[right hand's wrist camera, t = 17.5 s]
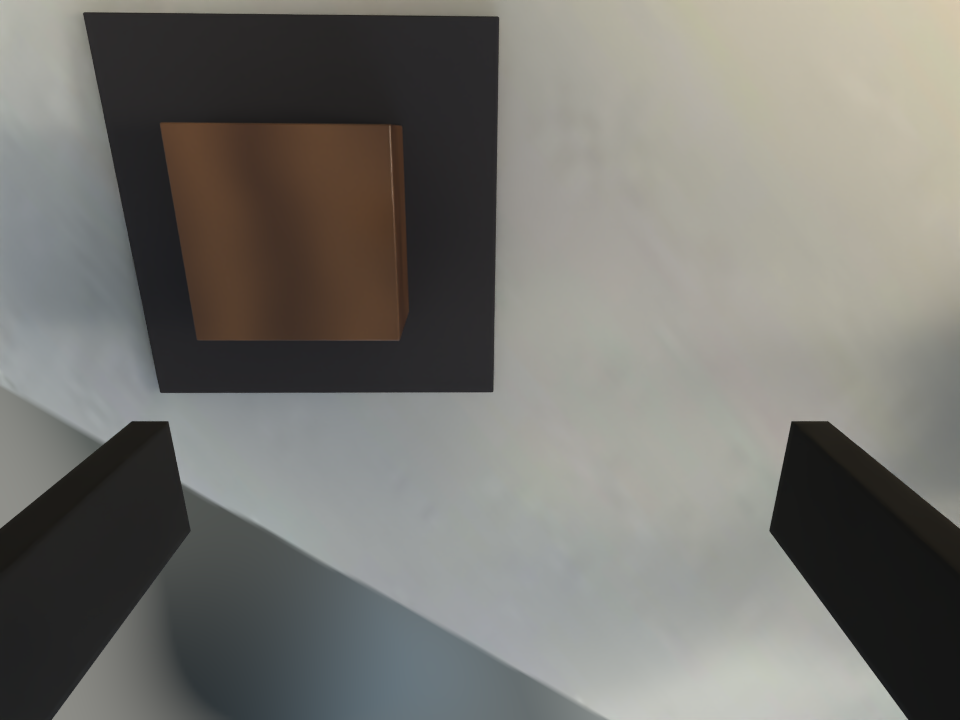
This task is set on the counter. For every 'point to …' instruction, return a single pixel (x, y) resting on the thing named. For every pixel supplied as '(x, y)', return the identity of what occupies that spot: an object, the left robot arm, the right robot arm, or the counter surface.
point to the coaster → (316, 100)
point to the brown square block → (291, 229)
